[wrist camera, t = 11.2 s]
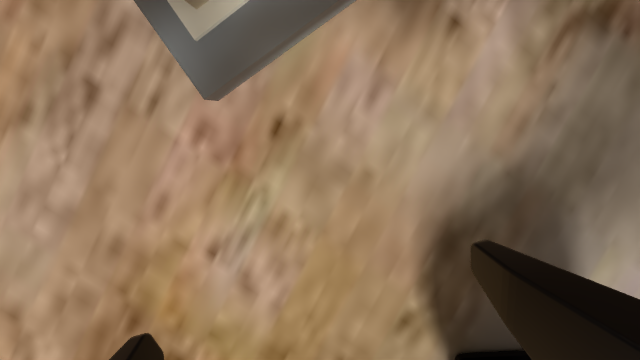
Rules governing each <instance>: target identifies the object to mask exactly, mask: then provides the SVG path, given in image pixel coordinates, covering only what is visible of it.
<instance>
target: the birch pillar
mask: <svg viewBox="0 0 640 360" xmlns="http://www.w3.org/2000/svg"><path fill="white" fill-rule="evenodd" d="M185 1H186V2H187V3H189V4H190V5H191V6H193V7H194V8H195V9H198V8H200V7H201V6H202V5H204V4H205V3H206V2H208V1H209V0H185Z"/></svg>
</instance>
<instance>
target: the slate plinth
mask: <svg viewBox="0 0 640 360" xmlns="http://www.w3.org/2000/svg"><path fill="white" fill-rule="evenodd" d="M134 1H135V3H136V4H137V6H138V7H139V8H140V10H141V11H142V13H143V14H144V15H145V17H146V18H147V20H148V21H149V23H150V24H151V25H152V27H153V28H154V30H155V31H156V32H157V34H158V35H159V37H160V38H161V39H162V41H163V42H164V44H165V45H166V46H167V48H168V49H169V51H170V52H171V53H172V55H173V56H174V58H175V59H176V61H177V62H178V63H179V65H180V66H181V68H182V69H183V70H184V72H185V73H186V75H187V76H188V77H189V79H190V80H191V82H192V83H193V84H194V86H195V87H196V89H197V90H198V92H199V93H200V94H201V96H202V97H203V99H204V100H214V101H219V100H220V99H221V98H223V97H224V96H225V95H227V94H228V93H230V92H231V91H232V90H234V89H235V88H236V87H238V86H239V85H241V84H242V83H243V82H245V81H246V80H247V79H249V78H250V77H252V76H253V75H254V74H256V73H257V72H258V71H260V70H261V69H263V68H264V67H265V66H267V65H268V64H269V63H271V62H272V61H274V60H275V59H276V58H278V57H279V56H280V55H282V54H283V53H284V52H286V51H287V50H289V49H290V48H291V47H293V46H294V45H295V44H297V43H298V42H300V41H301V40H302V39H304V38H305V37H306V36H308V35H309V34H311V33H312V32H313V31H315V30H316V29H317V28H319V27H320V26H322V25H323V24H324V23H326V22H327V21H328V20H330V19H331V18H332V17H334V16H335V15H337V14H338V13H339V12H341V11H342V10H343V9H345V8H346V7H348V6H349V5H350V4H352V3H353V2H354V1H356V0H209V1H208V2H206V3H205V4H204V5H202V6H201V7H200V8H198V9H195V8H194V7H193V6H191V5H190V4H189V3H187V2H186V1H185V0H134Z"/></svg>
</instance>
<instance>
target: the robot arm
mask: <svg viewBox="0 0 640 360" xmlns="http://www.w3.org/2000/svg"><path fill="white" fill-rule="evenodd" d="M471 269H472V272H473V274H474V276H475V277H476V279H477V280H478V282H479V284H480V285H481V287H482V288H483V290H484V292H485V293H486V295H487V297H488V298H489V300H490V301H491V303H492V305H493V306H494V308H495V309H496V311H497V313H498V314H499V316H500V317H501V319H502V320H503V322H504V323H505V325H506V326H507V328H508V329H509V330H510V332H511V333H512V334H513V336H514V337H515V338H516V340H517V341H518V342H519V344H520V345H521V346H522V347H523V349H524V351H503V352H481V353H462V354H459V355H457V356H456V358H455V360H640V299H637V298H635V297H632V296H630V295H627V294H625V293H622V292H619V291H617V290H614V289H612V288H609V287H607V286H604V285H602V284H599V283H597V282H594V281H591V280H589V279H586V278H584V277H581V276H579V275H576V274H574V273H571V272H568V271H566V270H563V269H561V268H558V267H556V266H553V265H551V264H548V263H546V262H543V261H540V260H538V259H535V258H533V257H530V256H528V255H525V254H523V253H520V252H518V251H515V250H512V249H510V248H507V247H505V246H502V245H500V244H497V243H495V242H492V241H489V240H482V241H478V242H474V243H472V245H471ZM109 360H164V354H163V351H162V350H161V348H160V347H159V345H158V344H157V342H156V341H155V340H154V338H153V337H152V336H151V334H149V333H144V334H140V335H137V336H133V337H131V338H130V339H129V340H128V341H127V342H126V343H125V344H124V345H123V346H122V347H121V348H120V349H119V350H118V351H117V352H116V353H115V354H114V355H113V356H112V357H111V358H110V359H109Z"/></svg>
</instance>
